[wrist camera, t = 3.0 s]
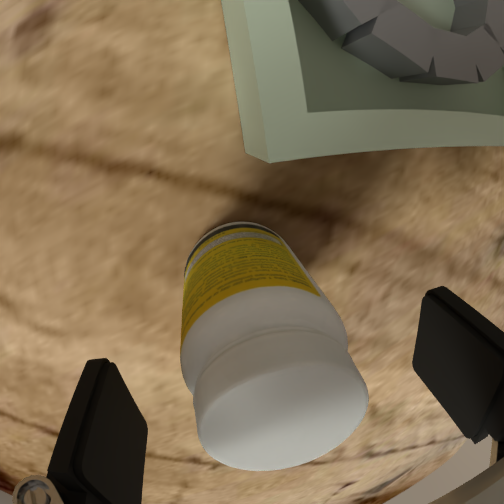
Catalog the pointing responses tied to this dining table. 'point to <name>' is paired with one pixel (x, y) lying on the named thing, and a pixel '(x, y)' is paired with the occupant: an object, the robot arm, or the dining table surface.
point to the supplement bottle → (264, 353)
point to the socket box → (366, 75)
